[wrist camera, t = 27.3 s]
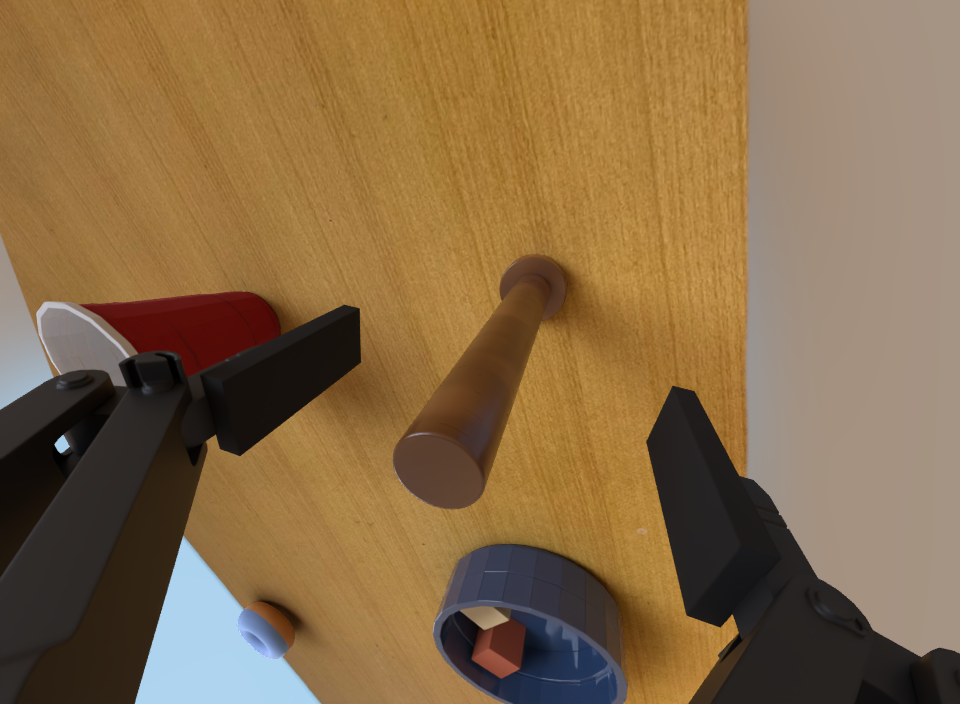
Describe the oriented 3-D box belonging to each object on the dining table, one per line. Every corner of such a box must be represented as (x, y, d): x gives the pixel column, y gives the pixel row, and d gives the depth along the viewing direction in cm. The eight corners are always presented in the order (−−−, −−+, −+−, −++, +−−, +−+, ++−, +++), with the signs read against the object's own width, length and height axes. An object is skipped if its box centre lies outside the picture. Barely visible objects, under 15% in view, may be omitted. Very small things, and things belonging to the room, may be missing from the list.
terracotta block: (526, 627, 40) (520, 669, 37) (508, 638, 42) (501, 679, 39) (497, 608, 40) (488, 648, 37) (480, 620, 42) (470, 659, 39)
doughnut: (249, 611, 62) (226, 640, 58) (255, 587, 57) (230, 617, 53) (296, 640, 62) (276, 671, 58) (307, 619, 57) (286, 651, 53)
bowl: (648, 582, 33) (660, 657, 28) (592, 672, 41) (592, 742, 36) (462, 518, 36) (441, 574, 31) (445, 613, 45) (427, 670, 39)
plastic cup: (184, 276, 32) (-7, 319, 22) (266, 249, 29) (83, 285, 18) (242, 378, 36) (102, 455, 26) (321, 366, 32) (196, 451, 22)
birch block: (516, 579, 37) (509, 620, 33) (493, 590, 39) (484, 630, 35) (489, 556, 37) (478, 595, 33) (466, 569, 39) (454, 607, 35)
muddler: (579, 295, 23) (565, 515, 8) (525, 327, 25) (429, 553, 10) (543, 240, 23) (447, 361, 7) (491, 278, 25) (323, 437, 9)
